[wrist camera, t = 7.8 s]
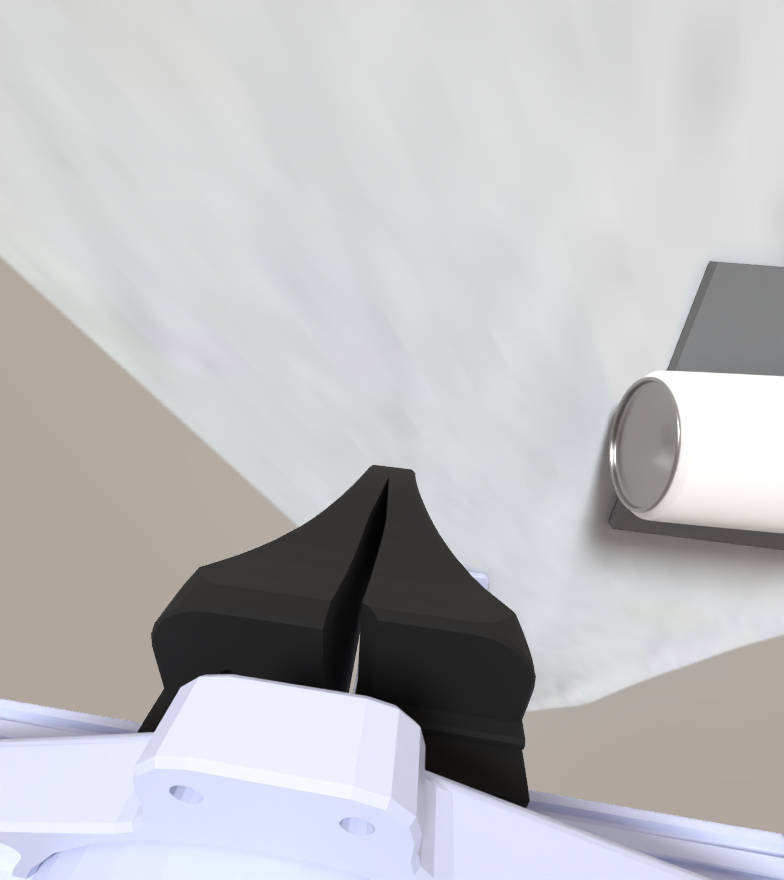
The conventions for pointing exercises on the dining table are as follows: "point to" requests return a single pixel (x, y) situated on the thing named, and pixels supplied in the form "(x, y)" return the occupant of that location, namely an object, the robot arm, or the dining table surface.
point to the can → (702, 450)
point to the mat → (726, 365)
